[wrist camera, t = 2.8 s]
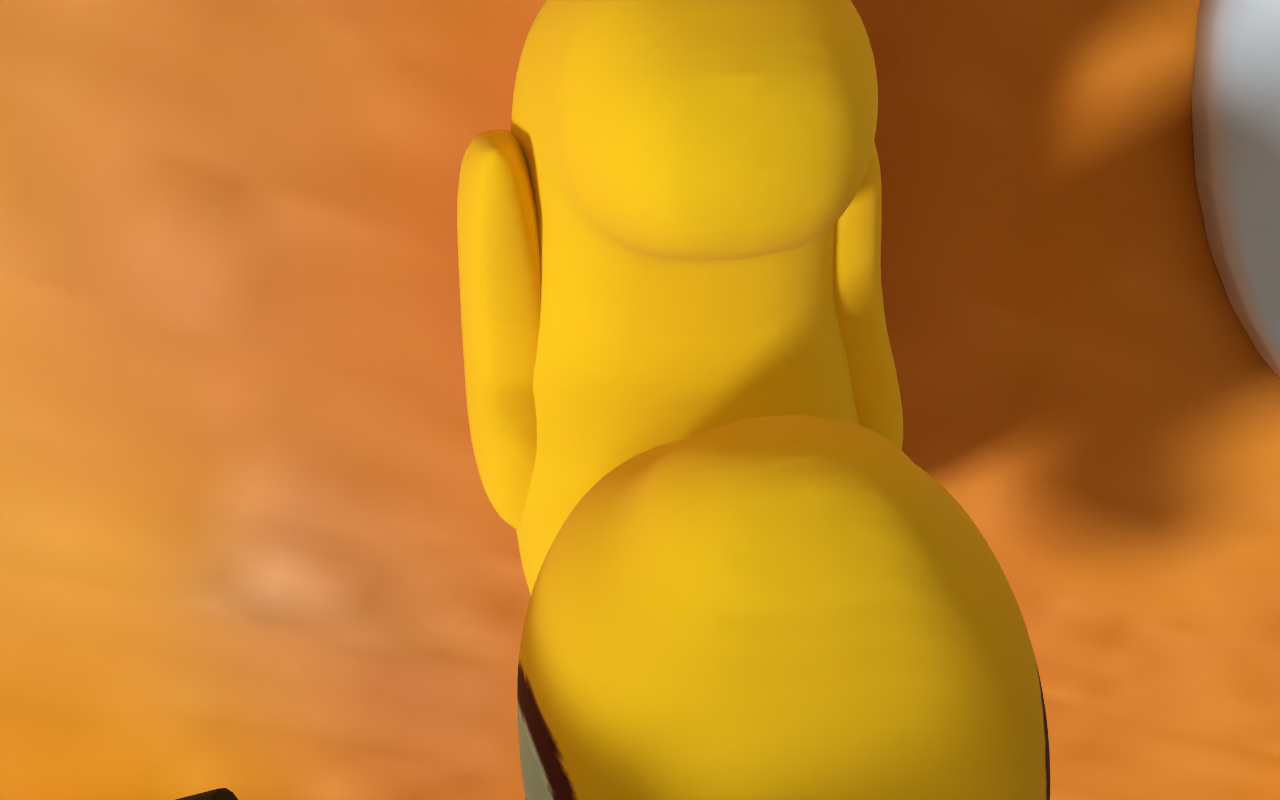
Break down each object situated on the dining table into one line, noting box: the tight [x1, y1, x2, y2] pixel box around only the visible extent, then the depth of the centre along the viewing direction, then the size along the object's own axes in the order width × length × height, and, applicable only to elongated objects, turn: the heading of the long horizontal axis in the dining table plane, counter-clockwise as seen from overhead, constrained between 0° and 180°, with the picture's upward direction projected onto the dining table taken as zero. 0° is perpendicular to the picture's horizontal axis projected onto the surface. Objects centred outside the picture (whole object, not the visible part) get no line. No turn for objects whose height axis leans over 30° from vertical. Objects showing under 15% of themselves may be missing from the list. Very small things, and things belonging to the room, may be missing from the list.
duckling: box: [457, 0, 1050, 800], centre depth 12 cm, size 11×5×10 cm, turn 2°
